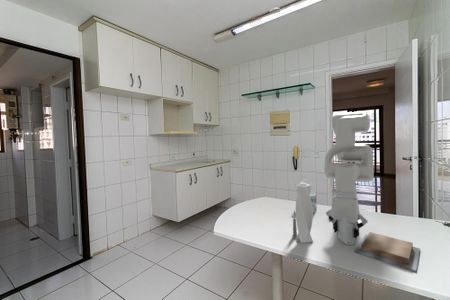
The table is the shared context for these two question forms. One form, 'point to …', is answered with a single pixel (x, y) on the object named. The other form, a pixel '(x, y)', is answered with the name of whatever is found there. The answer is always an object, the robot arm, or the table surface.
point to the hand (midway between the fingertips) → (345, 233)
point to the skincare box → (345, 231)
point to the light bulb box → (313, 201)
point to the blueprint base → (389, 250)
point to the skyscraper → (303, 213)
